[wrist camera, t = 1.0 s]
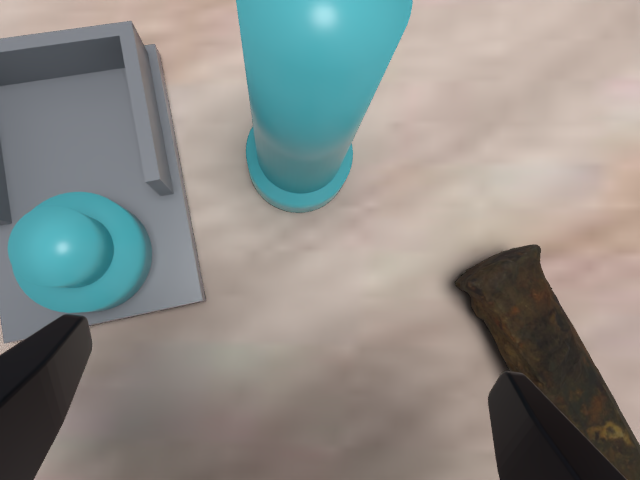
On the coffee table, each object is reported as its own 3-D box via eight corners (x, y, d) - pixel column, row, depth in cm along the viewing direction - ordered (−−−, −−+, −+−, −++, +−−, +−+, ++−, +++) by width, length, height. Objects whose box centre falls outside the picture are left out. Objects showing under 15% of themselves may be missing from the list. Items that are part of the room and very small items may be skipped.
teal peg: (298, 233, 22) (326, 140, 9) (227, 163, 22) (162, -22, 10) (365, 166, 23) (477, -2, 10) (298, 99, 23) (324, -150, 10)
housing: (205, 300, 21) (184, 300, 16) (17, 341, 20) (-67, 354, 15) (160, 55, 23) (128, -13, 18) (-19, 81, 22) (-106, 16, 17)
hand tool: (439, 277, 23) (479, 272, 18) (505, 245, 23) (559, 232, 19) (614, 633, 21) (705, 724, 17) (680, 590, 22) (785, 667, 17)
